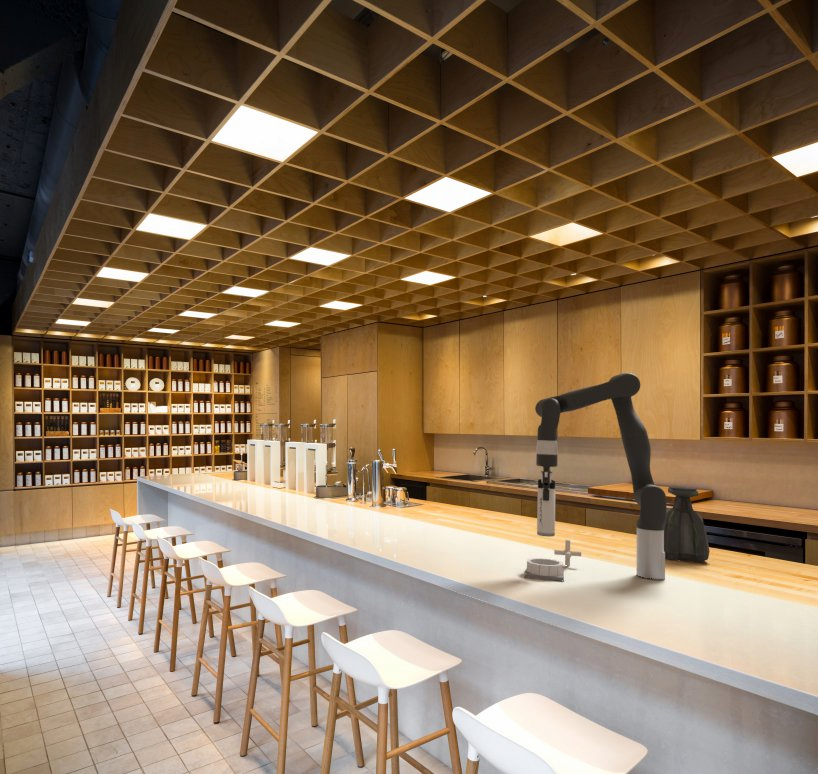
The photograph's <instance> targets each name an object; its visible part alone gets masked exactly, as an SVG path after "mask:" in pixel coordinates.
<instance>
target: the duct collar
mask: <svg viewBox="0 0 818 774" xmlns="http://www.w3.org/2000/svg"><path fill="white" fill-rule="evenodd" d="M563 567H564V563H563V562H562V561H560V560H557V559H551V558H543V557H540V558H539V557H536V558H535V557H534V558H532V557H531V558H528V559H527V560H526V569H525V572H524V578H525V577H529V578H528V579H533V578H540V579H539V580H544V579H551V580H550V581H554V580H563V581H562V582H565V580H564V579H565V577H564V576H565V572H564V571H565V569H563Z"/></svg>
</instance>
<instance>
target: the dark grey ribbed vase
mask: <svg viewBox="0 0 818 774" xmlns="http://www.w3.org/2000/svg"><path fill="white" fill-rule="evenodd" d="M697 490H698V488H695V487H688V486H668V487H667V493H669V494H672V495H673V496H675V498H674V501H673V504H672V507H669V508H668V509H666V521H665V524H664V552H665V559H666V558H667V559H668V560H670V561H678V560H680V562H681V561H682V562H690V561H693V563H703V562H706V561H708V560H709V557H710V546H709V540H708V535H707V533H708V532H707V529H706V526H705V524H704V518H703V517H702V515H701V514H700V513H699V512H697V511H696V510H694V508H693V505H692V500H691V498H692V497H698V496H699V491H697Z"/></svg>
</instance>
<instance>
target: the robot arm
mask: <svg viewBox="0 0 818 774" xmlns="http://www.w3.org/2000/svg"><path fill="white" fill-rule="evenodd" d="M640 390H641V381H640V379H639V377H638V376H637V375H636V374H634V373H630V372H623V373H619V374H617V375H614V376H612V377H611V378H609V380H608V381H606V382H603V383H600V384H599V383H598V384H597V385H592V386H586V387H583V388H578V389H575V390H571V391H568V392H565V393H563V394H560V395H556V396H555V395H554V396H550V397H547V398H542V399H540V400H538V402H537V403H536V404H535V409H534V410H535V413H536V415H538V416H539V417H541V419H540V420H541V421H540V424H539V425H538V426H537V437H536V438H537V442H536V451H535V452H536V453H535V454H536V459H535V461H536V462H535V465H536V466H537V467H543V470H541V471H540V476H541V483H542V484H543V485H542V489H543V500H544V501H549V490H550V484H551V481H552V480H553V479H552V478H553V471H551V468H557V467H558V461H559V460H558V455H559V453H558V452H559V451H558V449H559V448H558V428H559V427H558V426H559V423H560V418H561V417H560V416H561V414H562V413H568V412H569V413H570V412H573V411H577V410H580V409H583V408H586V407H589V406H591V405H595V404H597V403H601V402H604V401H608V400H611V402H612V405H613V409H614V411H615V415H616V419H617V423H618V427H619V428H618V429H619V432H620V435H621V441H622V446H623V450H624V452H625V453H624V454H625V458H626V460H627V464H628V467H629V471H630V478H631V483H632V491H633V498H634V500H635V502H636V504H637V505H638V506H639V507H640V509H639V511H640V512H639V517H638V519H636V576H637V575H638V576H637V577H639V576H641V577H640V578H642V577H645V578H644V579H647V578H650V579H649V580H666V557H665V552H664V524H665V521H666V511H667V505H668V504H667V496H666V495H667V494H666V492H665V491H664V490H663V488H662V487H660V486H657V485H655V483H654V480H653V476H652V473H651V454H652V453H651V450H652V449H651V443H650V438H649V435H648V431H647V428H646V427H645V425H644V423H643V422H642V420H641V418H639V416H638V415H637V412H636V411H635V408H634V404H633V399H632V397H634V396H635V395H637V394H638V392H640ZM544 484H548V485H544ZM651 578H652V579H651Z"/></svg>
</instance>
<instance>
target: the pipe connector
mask: <svg viewBox="0 0 818 774" xmlns="http://www.w3.org/2000/svg"><path fill="white" fill-rule="evenodd" d="M564 543H565V544H564V545H565V546H564V547H565V549H564V550H563V549H554V551H553V553H554V556H555V555H556V556H564V557H565V558H564V566H565V565H567V566H570V567H571V557H572V556H573V557H582V551H580V550H578V551H576V550H571V539H565V542H564Z"/></svg>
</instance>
